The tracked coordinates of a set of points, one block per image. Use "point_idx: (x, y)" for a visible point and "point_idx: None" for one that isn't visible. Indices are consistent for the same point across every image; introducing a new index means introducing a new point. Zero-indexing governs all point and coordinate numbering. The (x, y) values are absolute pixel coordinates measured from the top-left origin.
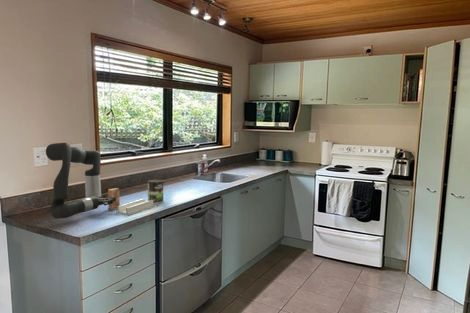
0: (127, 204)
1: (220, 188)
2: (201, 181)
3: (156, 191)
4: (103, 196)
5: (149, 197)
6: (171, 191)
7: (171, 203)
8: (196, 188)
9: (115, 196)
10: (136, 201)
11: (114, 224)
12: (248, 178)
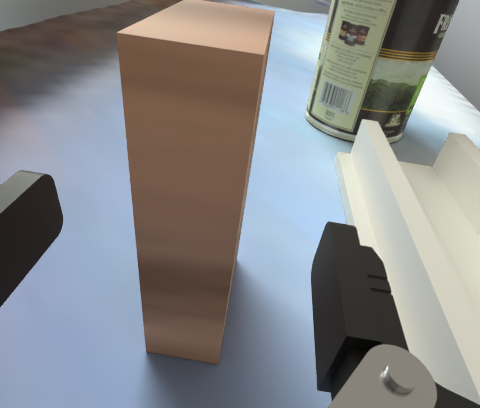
0: (449, 273)
1: None
2: (273, 9)
3: (430, 56)
4: (11, 214)
5: (362, 103)
6: (273, 46)
7: (458, 133)
8: (323, 34)
9: (249, 168)
10: (402, 175)
11: None
12: None
